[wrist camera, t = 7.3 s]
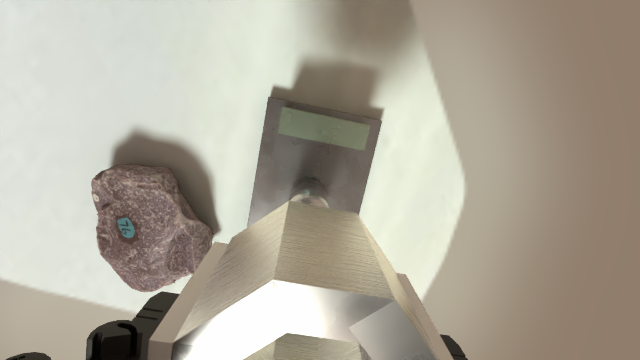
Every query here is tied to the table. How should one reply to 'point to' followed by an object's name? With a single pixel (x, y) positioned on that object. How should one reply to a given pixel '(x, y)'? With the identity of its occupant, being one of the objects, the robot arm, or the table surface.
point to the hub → (303, 295)
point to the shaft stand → (312, 158)
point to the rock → (147, 226)
